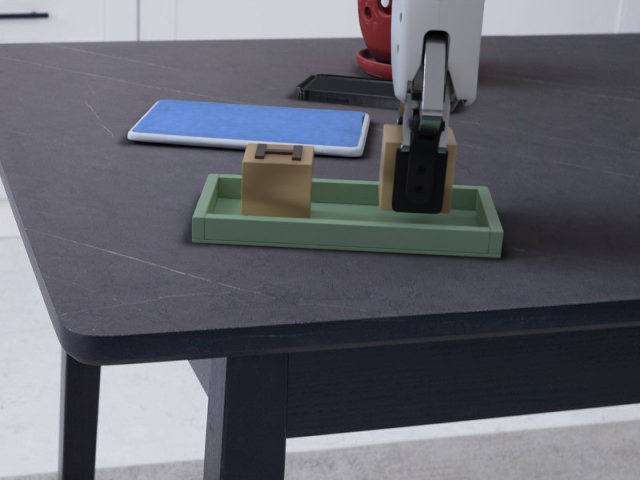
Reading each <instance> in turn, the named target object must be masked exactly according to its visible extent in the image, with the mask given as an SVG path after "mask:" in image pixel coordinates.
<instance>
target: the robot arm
mask: <svg viewBox="0 0 640 480" xmlns="http://www.w3.org/2000/svg"><path fill="white" fill-rule="evenodd" d="M484 1H486V0H392V20H391V64H392V78H393V86H394V92H395V96H396V97H397V98H398V99H399V108H398V109H397V118H396V119H397V123H396V125H403V127H402V140H401V148H396V159H395V170H394V182H393V193H392V209H393V210H394V211H395V212H402V213H421V214H438V213H440V212H441V211H442V206H443V197H444V188H445V179H446V170H447V161H448V151H446V147H447V136H448V127H449V124H450V107H451V104H450V102H451V90H452V86H453V89H454V92H455V94H456V97H457V99H460V101H461V103H462V105H463V106H464V107H469V106H471V105H472V104H474V102H475V101H476V99H477V91H478V78H479V65H480V54H481V44H482V33H483V21H484V12H485V2H484Z"/></svg>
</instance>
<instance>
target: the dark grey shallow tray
mask: <svg viewBox="0 0 640 480" xmlns="http://www.w3.org/2000/svg"><path fill="white" fill-rule="evenodd" d="M295 98H296V99H297V100H300V101H306V102H315V103H327V104H336V105H337V104H338V105H346V106H347V105H349V106H358V107H368V108H381V109H390V110H398V108H399V99H398V98H397V97H396V96H395V92H394V86H393V80H388V79H381V78H377V77H365V76H364V77H363V76H352V75H340V74H330V73H314V74H311V75H309V76H308V77H307V78H306V79H304V80H302V82H300V83H299V84H298V85H297V86H296V87H295ZM460 101H461V99H457V97H456V94H455V92H454V89H453V86H452V90H451V102H450V104H451V107H450V113H453V111H454V110H455V108H456V107H457V105H458V104H459V102H460ZM450 113H449V114H450Z"/></svg>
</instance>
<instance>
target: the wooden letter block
mask: <svg viewBox="0 0 640 480" xmlns="http://www.w3.org/2000/svg"><path fill="white" fill-rule="evenodd" d="M402 127H403V125H397V124H387V123H385V124H383V126H382V129H383V130H382V138H381V139H382V140H381V153H380V163H379V164H380V165H379V174H378V175H379V176H378V181H379V186H378V193H379V208H380V210H386V211H394V210H393V209H392V193H393V182H394V170H395V159H396V148H401V140H402ZM446 151H448V161H447V170H446V179H445V188H444V197H443V206H442V211H441V212H440V213H444V214H449V213H450V205H451V196H452V187H453V185H454V178H455V177H454V176H455V168H456V161H457V153H458V152H457V151H458V144H457V141H456V137H455V133H454V131H453V127H450V126H448V136H447V147H446Z"/></svg>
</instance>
